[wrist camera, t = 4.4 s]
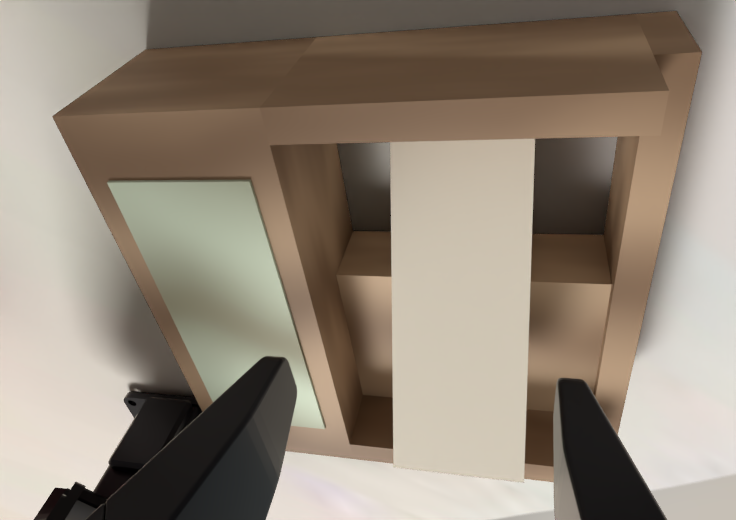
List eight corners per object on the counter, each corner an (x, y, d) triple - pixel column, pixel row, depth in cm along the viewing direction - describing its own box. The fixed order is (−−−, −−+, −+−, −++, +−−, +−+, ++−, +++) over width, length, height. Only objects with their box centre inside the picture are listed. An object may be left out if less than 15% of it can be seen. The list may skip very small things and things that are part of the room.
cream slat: (523, 444, 20) (523, 482, 17) (407, 432, 21) (393, 467, 18) (533, 111, 18) (536, 104, 15) (405, 116, 19) (389, 110, 16)
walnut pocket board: (607, 380, 24) (622, 492, 21) (259, 354, 28) (217, 445, 25) (676, 10, 15) (726, 90, 11) (145, 49, 19) (50, 117, 15)
